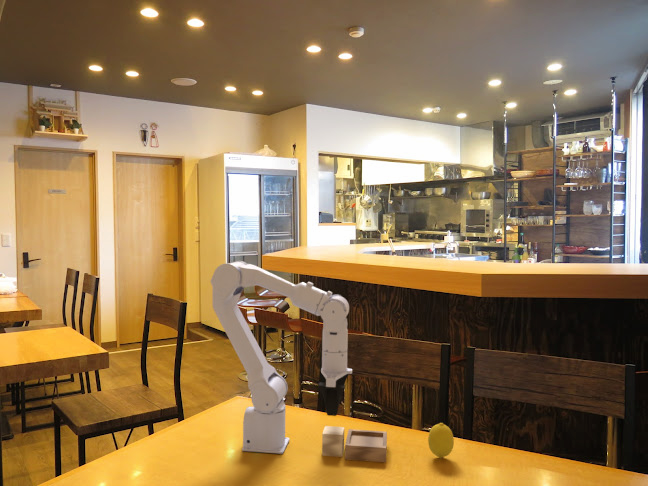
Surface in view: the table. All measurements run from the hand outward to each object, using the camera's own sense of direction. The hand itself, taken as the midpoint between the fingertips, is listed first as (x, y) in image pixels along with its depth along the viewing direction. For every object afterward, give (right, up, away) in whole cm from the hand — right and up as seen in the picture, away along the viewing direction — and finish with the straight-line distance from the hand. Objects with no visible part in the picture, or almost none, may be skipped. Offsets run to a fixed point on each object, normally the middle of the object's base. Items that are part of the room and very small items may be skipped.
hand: (333, 409), depth 119 cm
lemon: (+24, -11, -2) cm, 26 cm away
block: (0, -10, 0) cm, 10 cm away
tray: (+7, -10, 0) cm, 12 cm away
